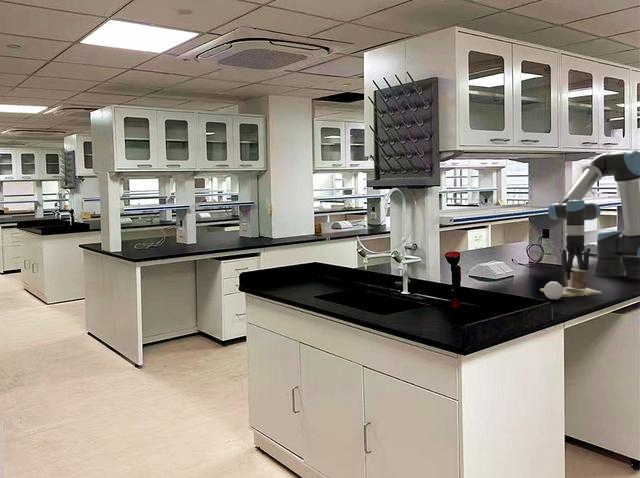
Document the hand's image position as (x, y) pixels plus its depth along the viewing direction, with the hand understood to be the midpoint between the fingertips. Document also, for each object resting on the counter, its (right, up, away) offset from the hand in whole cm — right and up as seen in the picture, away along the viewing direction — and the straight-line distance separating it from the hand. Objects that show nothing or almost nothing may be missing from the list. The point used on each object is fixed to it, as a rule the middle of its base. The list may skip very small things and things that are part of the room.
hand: (575, 286), depth 254 cm
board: (-2, -3, 0) cm, 4 cm away
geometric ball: (-15, -5, -13) cm, 20 cm away
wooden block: (0, 0, 0) cm, 0 cm away
